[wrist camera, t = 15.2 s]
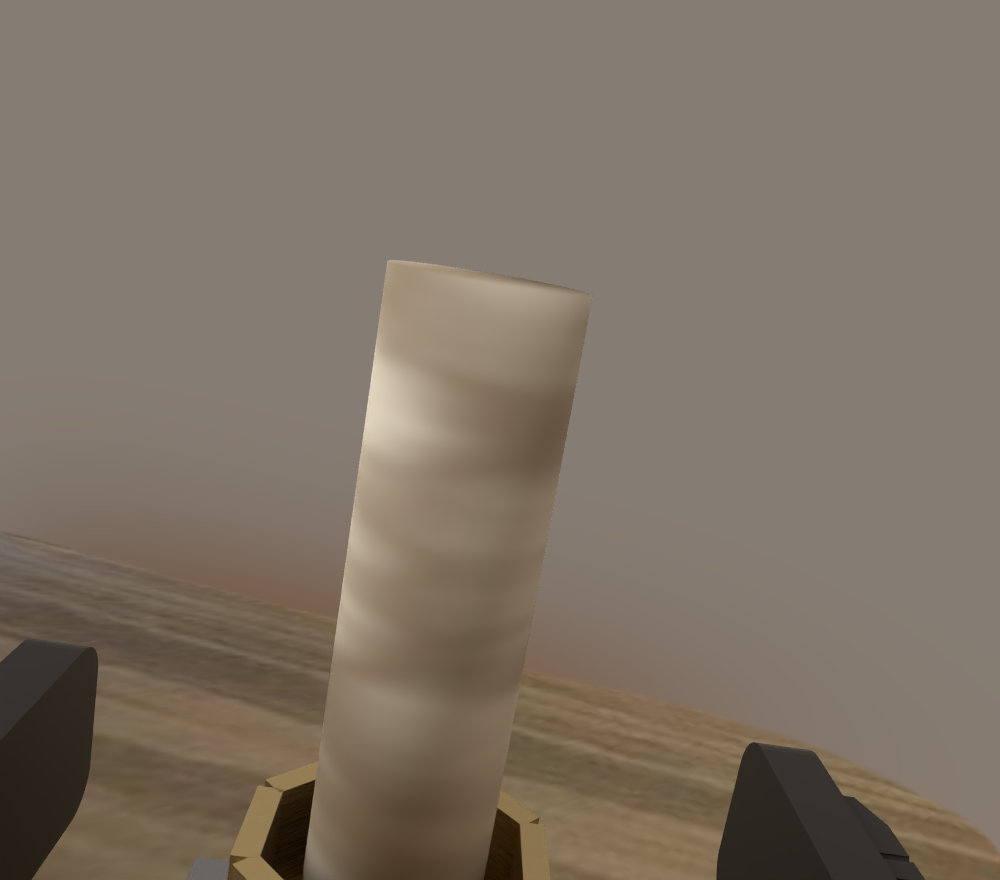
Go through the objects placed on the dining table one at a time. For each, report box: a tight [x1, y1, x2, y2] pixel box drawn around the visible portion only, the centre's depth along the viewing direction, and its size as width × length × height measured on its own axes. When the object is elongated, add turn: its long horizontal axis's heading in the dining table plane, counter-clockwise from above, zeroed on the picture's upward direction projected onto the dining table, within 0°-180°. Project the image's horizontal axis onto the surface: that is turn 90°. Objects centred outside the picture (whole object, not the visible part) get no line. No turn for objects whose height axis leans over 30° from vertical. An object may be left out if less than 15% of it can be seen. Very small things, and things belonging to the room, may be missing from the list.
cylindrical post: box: [302, 260, 592, 880], centre depth 20 cm, size 4×4×16 cm
